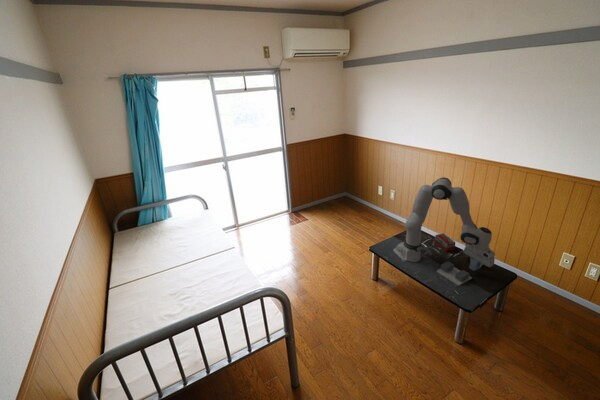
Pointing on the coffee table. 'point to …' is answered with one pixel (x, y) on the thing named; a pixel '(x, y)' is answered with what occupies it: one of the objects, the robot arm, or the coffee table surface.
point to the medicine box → (444, 242)
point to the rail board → (453, 273)
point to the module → (474, 264)
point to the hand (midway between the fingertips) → (475, 264)
